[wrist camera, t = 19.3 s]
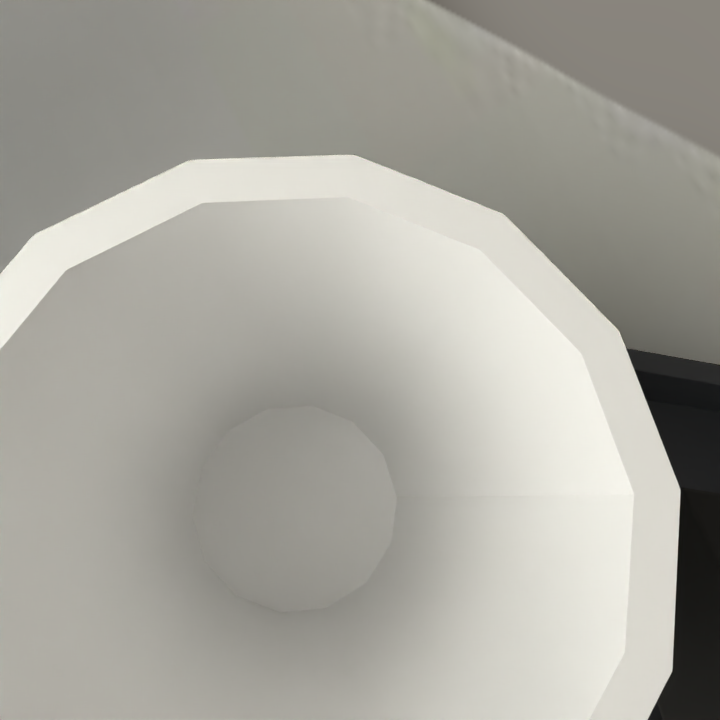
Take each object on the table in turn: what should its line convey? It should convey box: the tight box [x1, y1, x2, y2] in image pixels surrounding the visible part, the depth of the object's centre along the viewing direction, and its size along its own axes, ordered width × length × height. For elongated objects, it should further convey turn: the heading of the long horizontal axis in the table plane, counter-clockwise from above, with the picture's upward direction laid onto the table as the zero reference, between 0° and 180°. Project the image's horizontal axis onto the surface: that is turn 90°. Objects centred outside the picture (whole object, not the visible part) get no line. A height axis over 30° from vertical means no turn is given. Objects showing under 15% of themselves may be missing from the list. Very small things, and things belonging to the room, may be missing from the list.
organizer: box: [626, 348, 720, 720], centre depth 20 cm, size 22×11×4 cm, turn 81°
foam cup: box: [0, 154, 681, 720], centre depth 14 cm, size 10×9×13 cm
